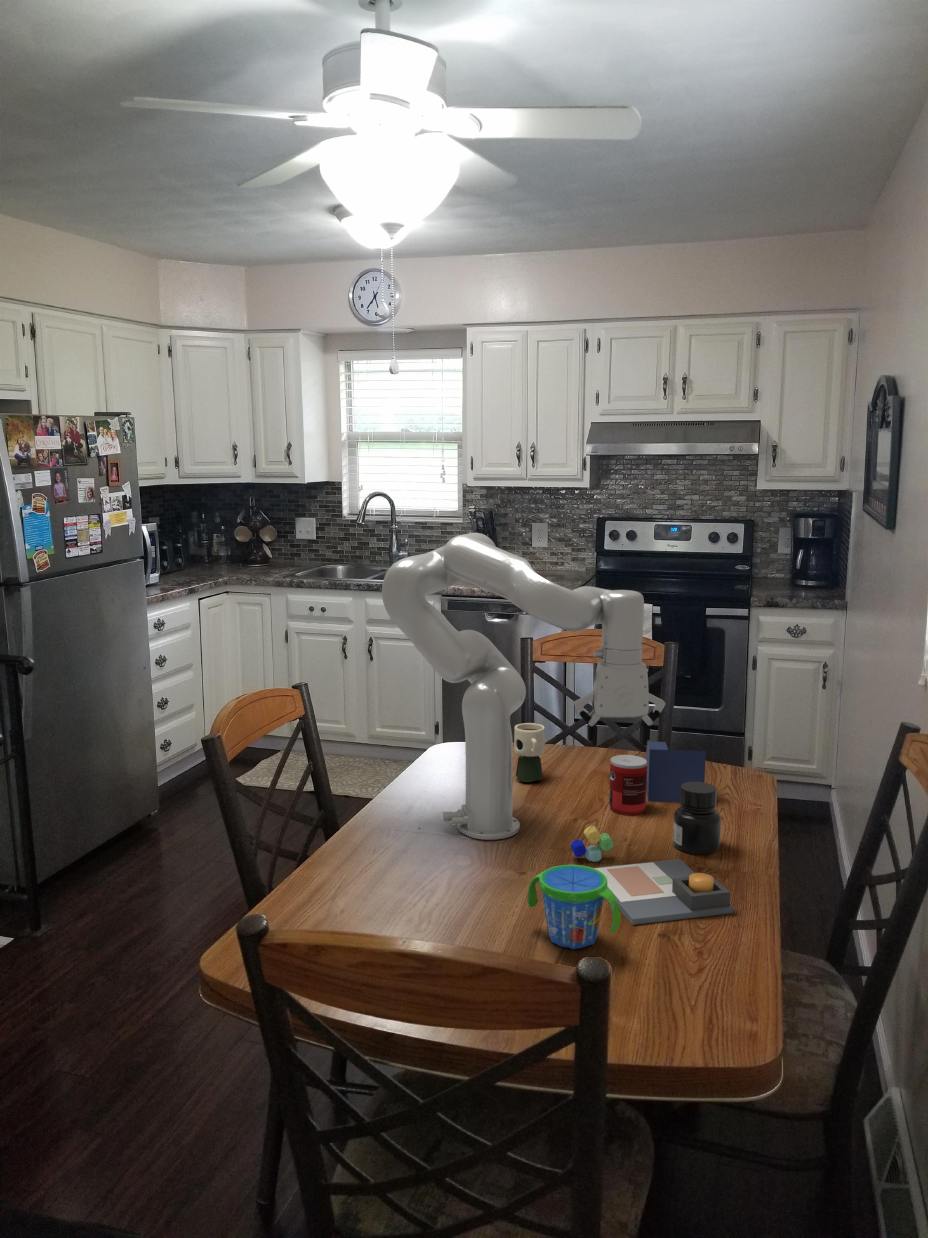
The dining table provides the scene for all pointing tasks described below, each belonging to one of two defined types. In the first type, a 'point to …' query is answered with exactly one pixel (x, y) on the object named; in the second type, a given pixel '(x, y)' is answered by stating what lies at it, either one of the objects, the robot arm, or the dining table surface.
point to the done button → (700, 882)
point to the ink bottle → (697, 819)
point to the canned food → (628, 784)
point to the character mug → (529, 751)
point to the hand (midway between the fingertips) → (618, 744)
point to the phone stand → (671, 771)
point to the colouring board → (662, 892)
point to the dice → (593, 837)
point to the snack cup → (574, 903)
